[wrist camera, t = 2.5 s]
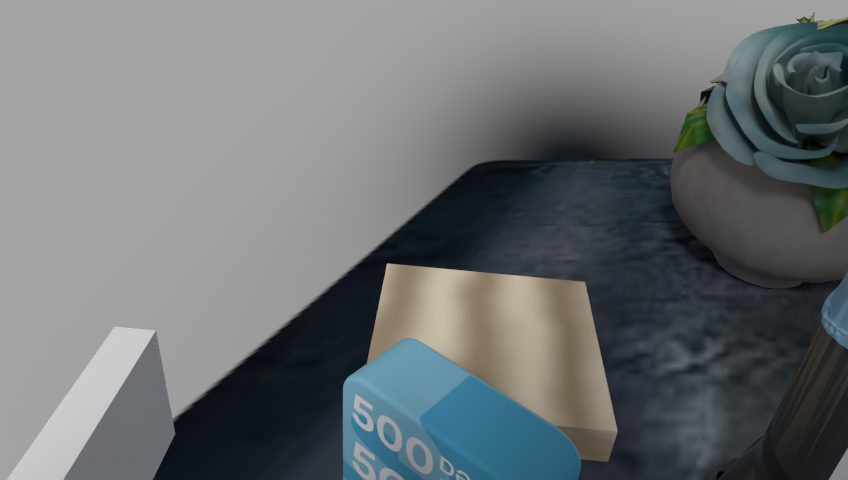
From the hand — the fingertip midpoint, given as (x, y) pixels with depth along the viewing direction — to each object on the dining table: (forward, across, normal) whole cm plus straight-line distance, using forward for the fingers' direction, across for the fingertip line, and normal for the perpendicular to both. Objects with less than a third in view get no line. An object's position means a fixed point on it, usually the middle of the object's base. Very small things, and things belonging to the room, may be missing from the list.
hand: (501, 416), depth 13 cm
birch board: (+31, +3, -27) cm, 41 cm away
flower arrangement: (+49, +30, -27) cm, 63 cm away
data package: (+15, 0, -27) cm, 31 cm away
